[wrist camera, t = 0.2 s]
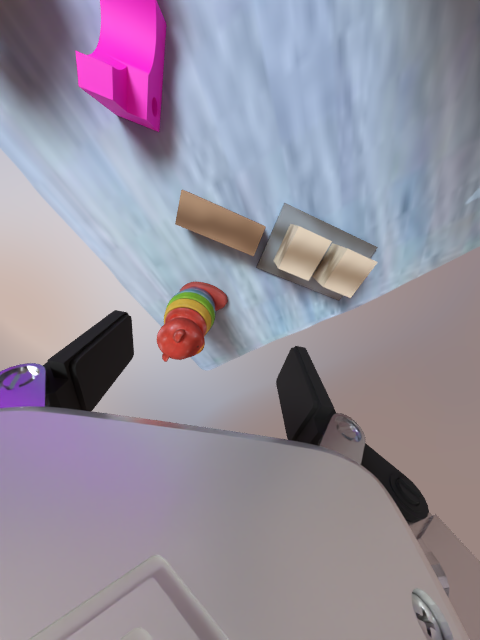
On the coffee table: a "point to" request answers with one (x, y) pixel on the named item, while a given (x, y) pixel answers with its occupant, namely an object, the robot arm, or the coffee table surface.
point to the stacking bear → (189, 320)
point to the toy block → (127, 61)
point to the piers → (316, 254)
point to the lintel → (218, 223)
